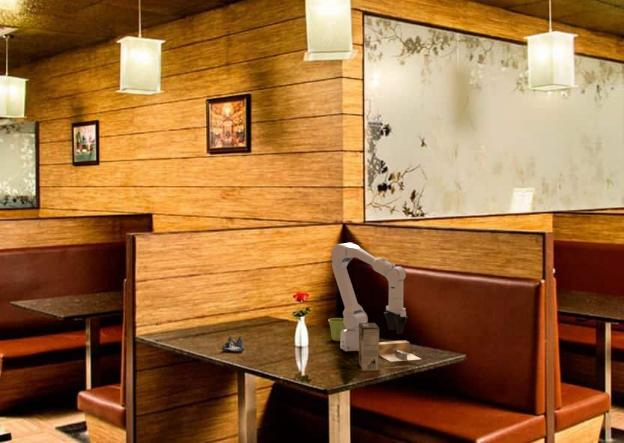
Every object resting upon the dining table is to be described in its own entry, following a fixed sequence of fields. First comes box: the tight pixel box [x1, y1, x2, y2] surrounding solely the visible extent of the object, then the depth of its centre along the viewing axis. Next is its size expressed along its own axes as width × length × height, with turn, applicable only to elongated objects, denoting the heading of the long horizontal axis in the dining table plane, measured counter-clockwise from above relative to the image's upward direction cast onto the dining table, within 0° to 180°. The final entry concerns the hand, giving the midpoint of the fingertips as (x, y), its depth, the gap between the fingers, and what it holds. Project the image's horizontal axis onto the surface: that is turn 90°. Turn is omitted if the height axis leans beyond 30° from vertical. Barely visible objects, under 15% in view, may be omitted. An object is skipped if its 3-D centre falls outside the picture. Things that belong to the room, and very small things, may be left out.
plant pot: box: [327, 317, 346, 342], centre depth 350 cm, size 9×9×9 cm
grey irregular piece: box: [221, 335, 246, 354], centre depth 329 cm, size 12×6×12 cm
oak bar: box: [379, 339, 410, 356], centre depth 322 cm, size 14×4×4 cm, turn 109°
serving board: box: [379, 352, 422, 363], centre depth 316 cm, size 13×16×1 cm
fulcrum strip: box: [395, 350, 407, 360], centre depth 313 cm, size 2×7×2 cm, turn 19°
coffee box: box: [358, 322, 380, 372], centre depth 300 cm, size 9×6×16 cm
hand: (395, 331), depth 318 cm, fingers open, 7 cm apart
